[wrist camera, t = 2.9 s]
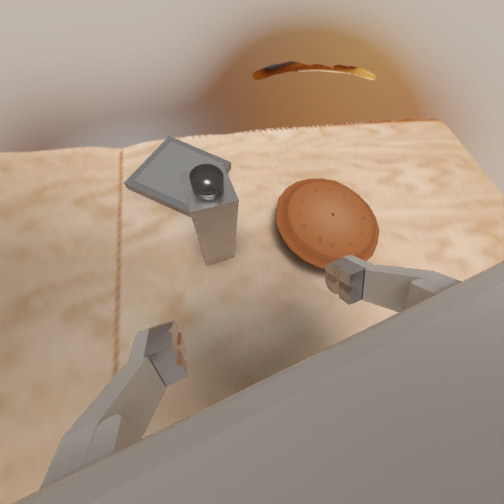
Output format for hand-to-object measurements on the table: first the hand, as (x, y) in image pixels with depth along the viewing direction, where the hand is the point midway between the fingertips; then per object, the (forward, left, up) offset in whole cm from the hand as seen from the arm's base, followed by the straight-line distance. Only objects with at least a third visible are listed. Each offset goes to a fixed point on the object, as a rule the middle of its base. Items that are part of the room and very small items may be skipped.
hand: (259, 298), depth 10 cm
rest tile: (-18, +16, -16) cm, 29 cm away
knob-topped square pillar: (-7, +7, -16) cm, 19 cm away
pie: (+6, +17, -17) cm, 25 cm away
